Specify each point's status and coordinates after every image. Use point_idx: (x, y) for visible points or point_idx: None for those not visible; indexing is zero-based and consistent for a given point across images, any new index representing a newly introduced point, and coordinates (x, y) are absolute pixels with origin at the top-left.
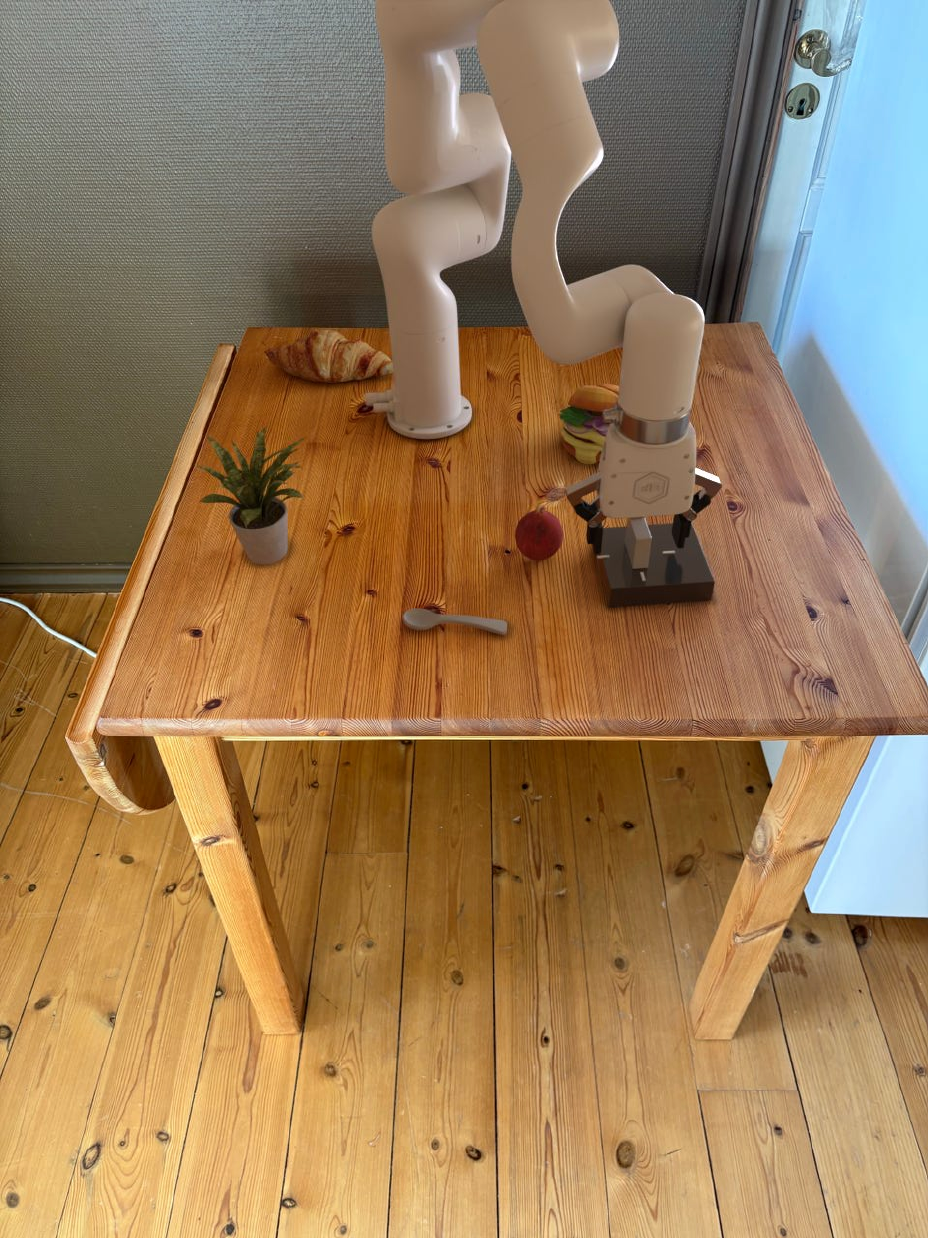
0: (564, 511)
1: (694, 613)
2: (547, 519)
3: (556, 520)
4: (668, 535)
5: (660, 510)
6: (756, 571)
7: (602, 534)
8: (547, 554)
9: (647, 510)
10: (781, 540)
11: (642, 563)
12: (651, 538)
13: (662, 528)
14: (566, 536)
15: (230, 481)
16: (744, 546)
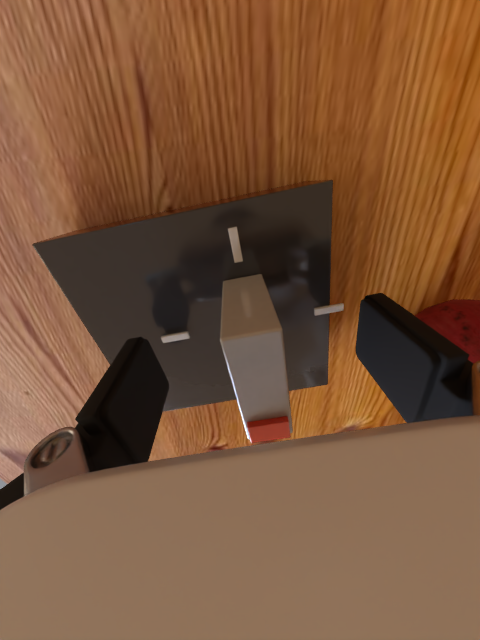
0: (340, 412)
1: (101, 177)
2: None
3: None
4: (181, 381)
5: (168, 525)
6: (15, 325)
7: (413, 339)
8: (454, 306)
9: (288, 525)
10: (6, 394)
11: (238, 284)
12: (220, 338)
13: (195, 396)
14: (350, 371)
15: None
16: (61, 377)
